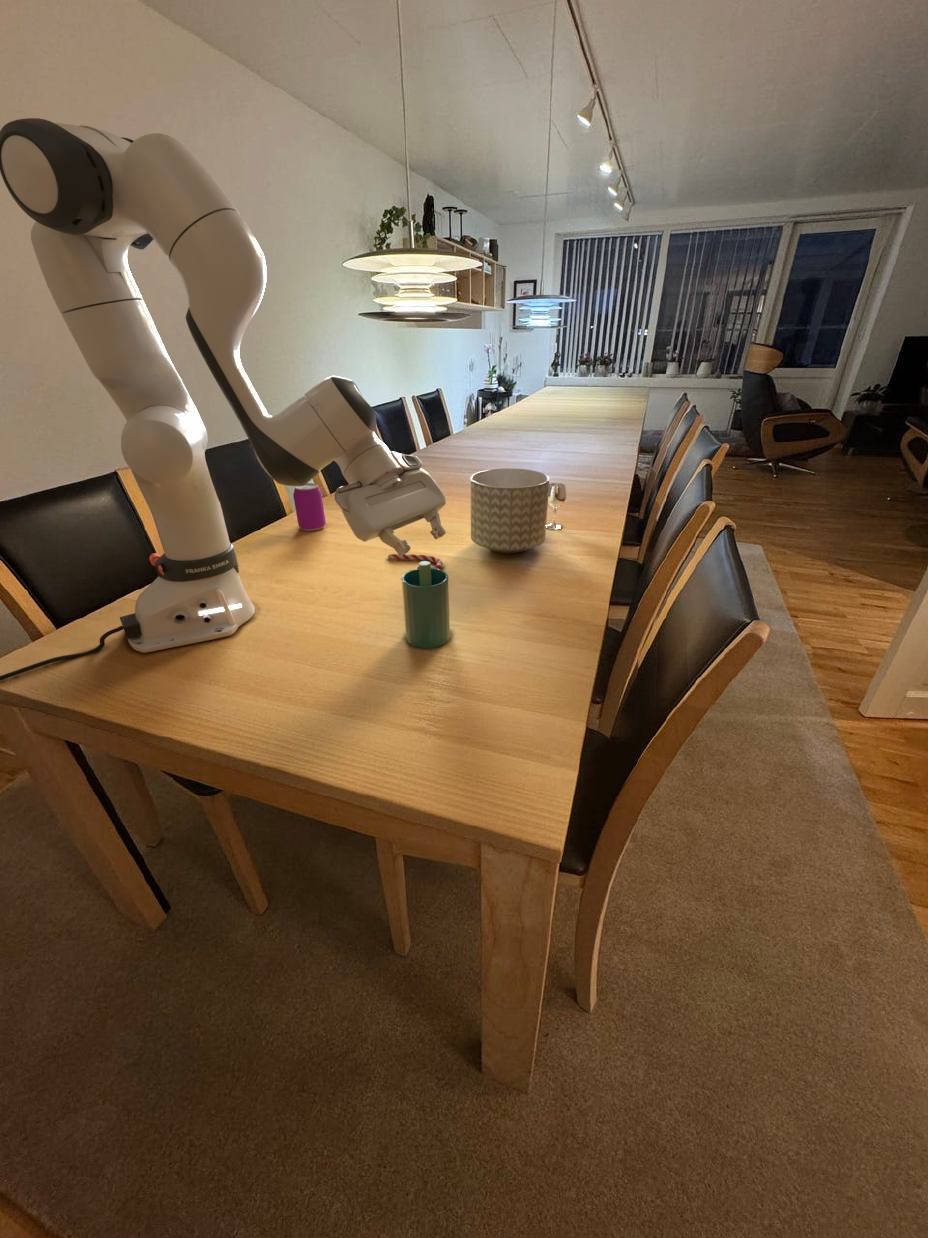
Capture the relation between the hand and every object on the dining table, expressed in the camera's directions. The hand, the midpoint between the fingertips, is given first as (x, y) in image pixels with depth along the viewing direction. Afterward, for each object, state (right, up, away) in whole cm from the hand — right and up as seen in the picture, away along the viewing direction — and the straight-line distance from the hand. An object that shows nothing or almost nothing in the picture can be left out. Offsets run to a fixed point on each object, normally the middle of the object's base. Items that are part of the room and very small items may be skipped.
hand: (424, 544), depth 86 cm
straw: (0, -15, +9) cm, 18 cm away
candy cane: (-5, +1, +39) cm, 39 cm away
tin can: (0, -16, +9) cm, 18 cm away
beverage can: (-37, +14, +63) cm, 75 cm away
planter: (+18, +6, +48) cm, 51 cm away
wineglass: (+32, +14, +62) cm, 71 cm away
